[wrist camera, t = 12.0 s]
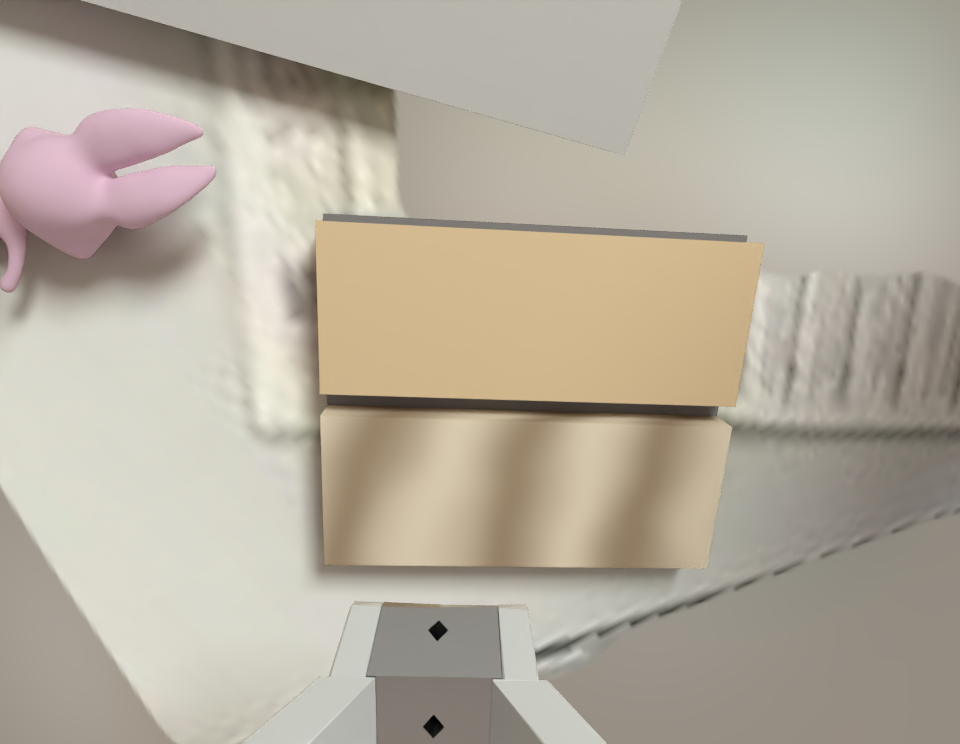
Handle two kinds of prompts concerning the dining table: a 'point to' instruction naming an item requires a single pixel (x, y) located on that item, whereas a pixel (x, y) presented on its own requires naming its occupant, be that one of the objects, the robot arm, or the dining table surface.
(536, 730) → the robot arm
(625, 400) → the laid floor
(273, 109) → the dining table surface
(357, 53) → the decorative molding
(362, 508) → the ash plank
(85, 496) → the dining table surface
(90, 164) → the rabbit figure
